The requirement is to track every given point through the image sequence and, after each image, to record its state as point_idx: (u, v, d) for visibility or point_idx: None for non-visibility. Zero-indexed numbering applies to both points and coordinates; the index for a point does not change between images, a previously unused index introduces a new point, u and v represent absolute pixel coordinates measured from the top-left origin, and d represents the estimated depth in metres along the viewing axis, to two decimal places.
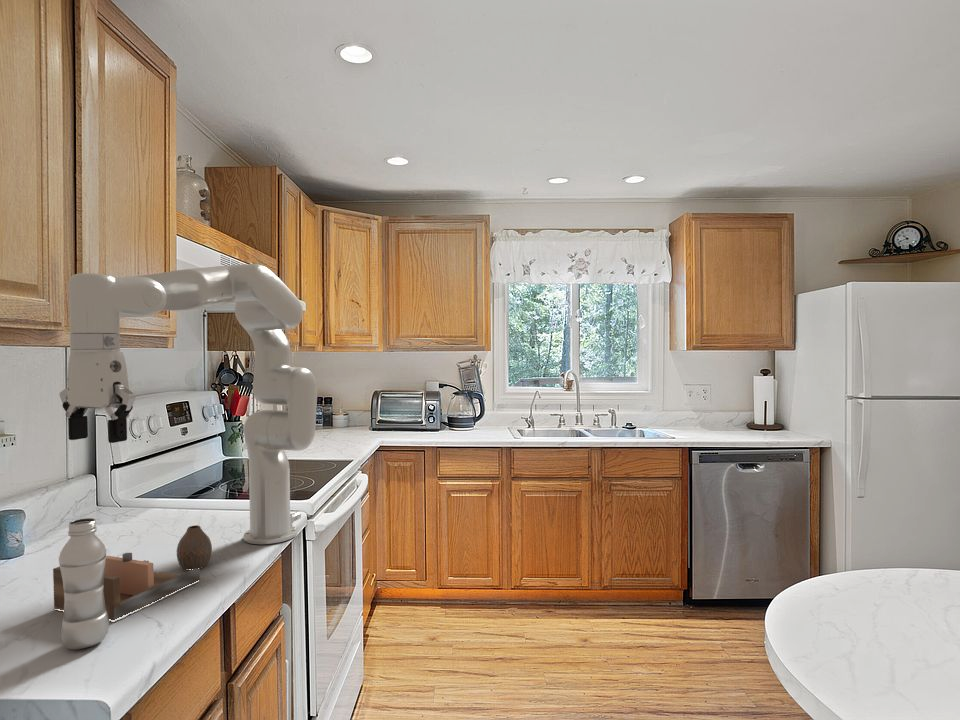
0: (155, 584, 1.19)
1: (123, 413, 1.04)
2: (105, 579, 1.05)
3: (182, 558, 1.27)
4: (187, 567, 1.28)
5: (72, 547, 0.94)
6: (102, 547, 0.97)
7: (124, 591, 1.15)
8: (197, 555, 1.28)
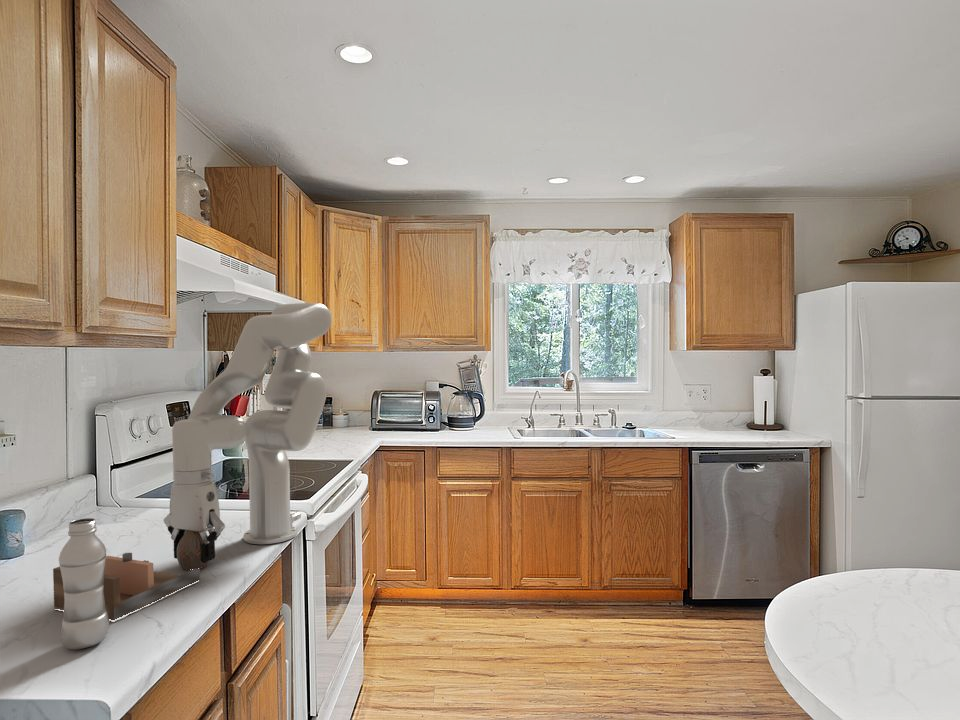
0: (155, 584, 1.19)
1: (213, 538, 1.28)
2: (105, 579, 1.05)
3: (182, 557, 1.27)
4: (187, 567, 1.28)
5: (72, 547, 0.94)
6: (102, 547, 0.97)
7: (124, 591, 1.15)
8: (197, 555, 1.28)
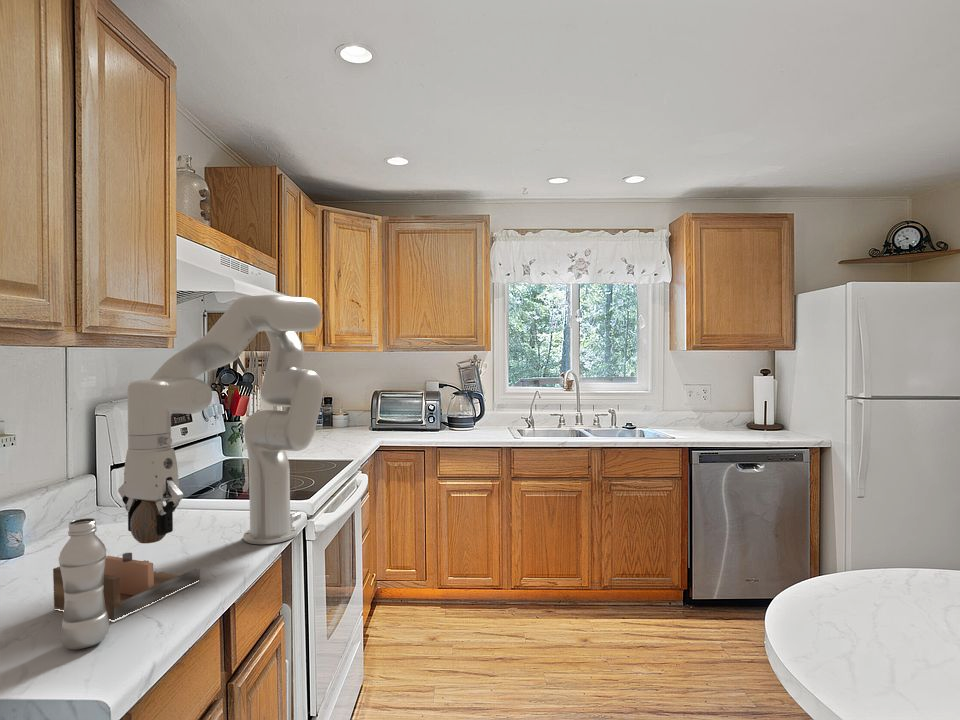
0: (155, 584, 1.19)
1: (170, 509, 1.17)
2: (105, 579, 1.05)
3: (135, 529, 1.17)
4: (141, 540, 1.17)
5: (72, 547, 0.94)
6: (102, 547, 0.97)
7: (124, 591, 1.15)
8: (152, 526, 1.17)
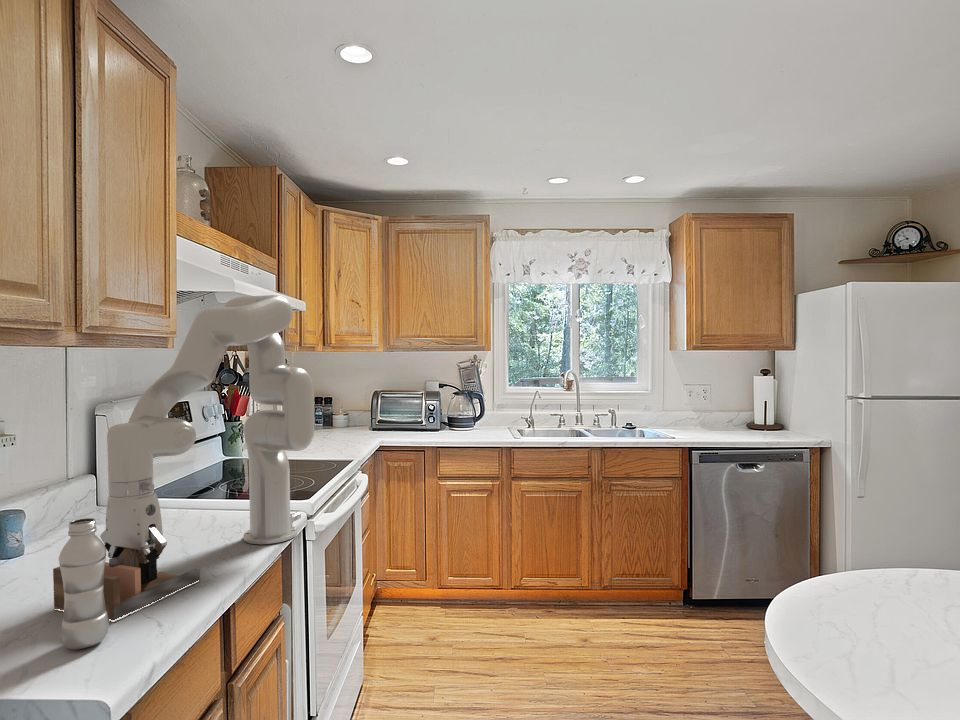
0: (155, 584, 1.19)
1: (154, 557, 1.14)
2: (105, 579, 1.05)
3: None
4: None
5: (72, 547, 0.94)
6: (102, 547, 0.97)
7: None
8: None
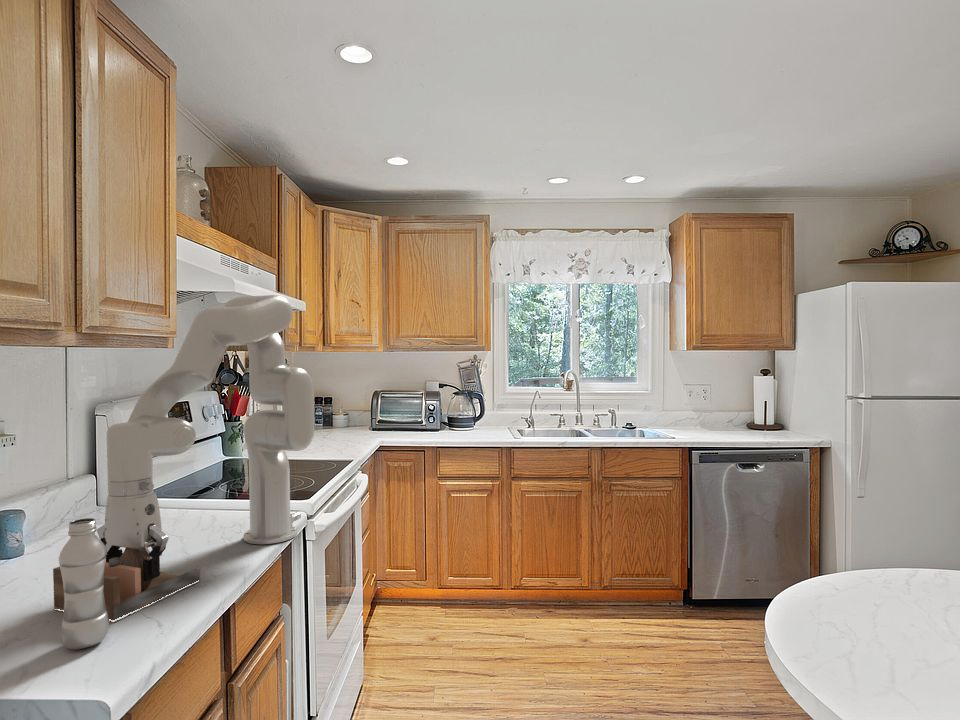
0: (155, 584, 1.19)
1: (157, 554, 1.13)
2: (105, 579, 1.05)
3: None
4: None
5: (72, 547, 0.94)
6: (102, 547, 0.97)
7: None
8: None
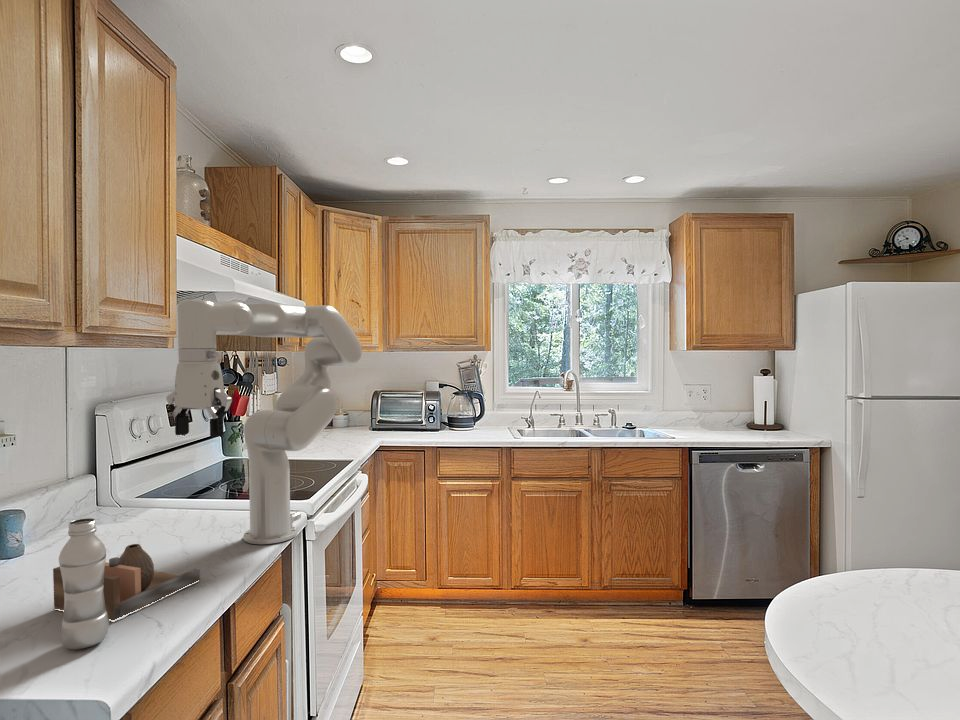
0: (155, 584, 1.19)
1: (222, 413, 1.28)
2: (105, 579, 1.05)
3: None
4: None
5: (72, 547, 0.94)
6: (102, 547, 0.97)
7: None
8: None
